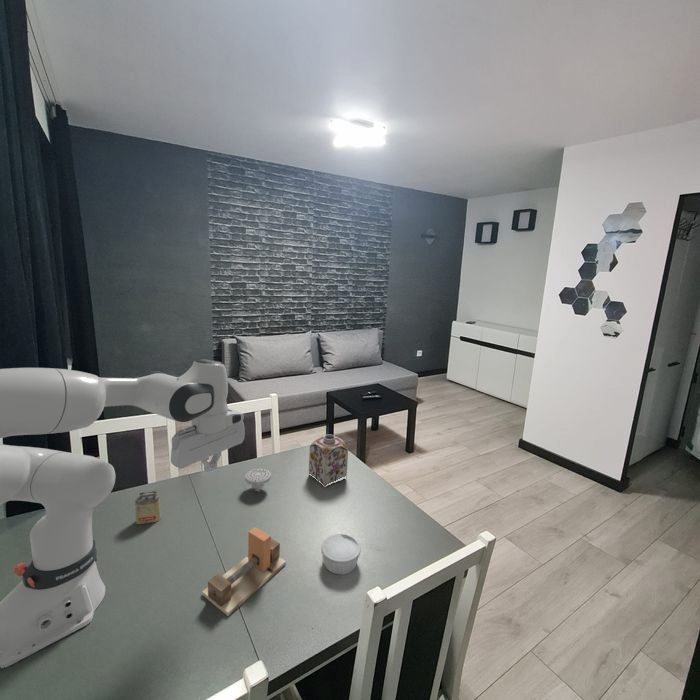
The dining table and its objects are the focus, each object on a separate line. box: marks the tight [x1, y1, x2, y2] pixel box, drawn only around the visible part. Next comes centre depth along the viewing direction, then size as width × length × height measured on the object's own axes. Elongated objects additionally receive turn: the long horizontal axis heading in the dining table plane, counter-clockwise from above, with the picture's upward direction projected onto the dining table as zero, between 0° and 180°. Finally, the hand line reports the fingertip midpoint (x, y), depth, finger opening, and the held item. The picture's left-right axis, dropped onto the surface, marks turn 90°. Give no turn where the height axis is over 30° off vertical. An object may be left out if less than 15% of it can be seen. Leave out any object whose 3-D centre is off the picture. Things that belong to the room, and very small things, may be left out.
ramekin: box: [321, 533, 362, 575], centre depth 104 cm, size 11×11×5 cm
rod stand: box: [201, 538, 287, 617], centre depth 97 cm, size 20×10×6 cm, turn 147°
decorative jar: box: [308, 434, 349, 486], centre depth 147 cm, size 12×12×18 cm
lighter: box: [134, 489, 162, 525], centre depth 116 cm, size 7×4×10 cm, turn 109°
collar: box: [247, 526, 272, 572], centre depth 100 cm, size 2×6×10 cm, turn 57°
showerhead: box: [244, 468, 272, 493], centre depth 136 cm, size 9×7×10 cm
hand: (210, 469), depth 96 cm, fingers closed
